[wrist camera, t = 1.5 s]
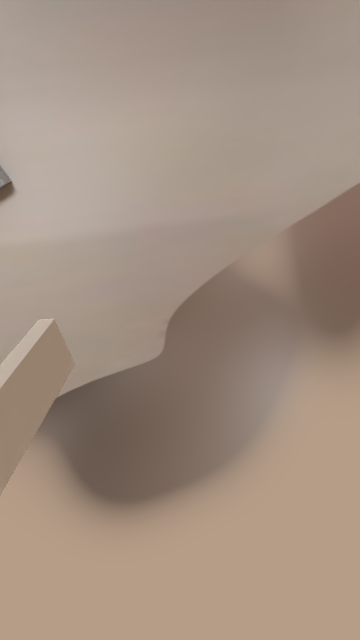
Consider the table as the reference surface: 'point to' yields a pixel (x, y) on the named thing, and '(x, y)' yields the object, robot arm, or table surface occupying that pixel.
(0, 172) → the plate
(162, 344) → the table surface
